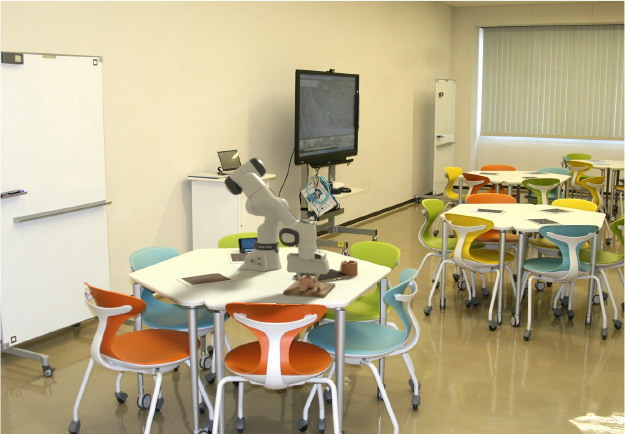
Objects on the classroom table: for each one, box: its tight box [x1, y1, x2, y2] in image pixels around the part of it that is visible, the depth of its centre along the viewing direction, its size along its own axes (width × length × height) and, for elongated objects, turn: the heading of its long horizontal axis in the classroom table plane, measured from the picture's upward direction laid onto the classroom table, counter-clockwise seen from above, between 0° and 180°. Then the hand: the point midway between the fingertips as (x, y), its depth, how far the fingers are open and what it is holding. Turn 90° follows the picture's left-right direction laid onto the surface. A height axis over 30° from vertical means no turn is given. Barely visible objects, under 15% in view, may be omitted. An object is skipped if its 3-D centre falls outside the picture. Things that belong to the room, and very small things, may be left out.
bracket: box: [339, 260, 359, 278], centre depth 369 cm, size 18×8×7 cm, turn 1°
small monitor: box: [237, 236, 258, 254], centre depth 426 cm, size 12×11×7 cm
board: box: [282, 280, 336, 298], centre depth 336 cm, size 20×20×2 cm
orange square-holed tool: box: [299, 276, 316, 291], centre depth 333 cm, size 6×13×4 cm, turn 164°
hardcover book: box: [293, 268, 349, 283], centre depth 359 cm, size 16×23×2 cm
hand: (308, 282), depth 337 cm, fingers closed on orange square-holed tool, 6 cm apart
